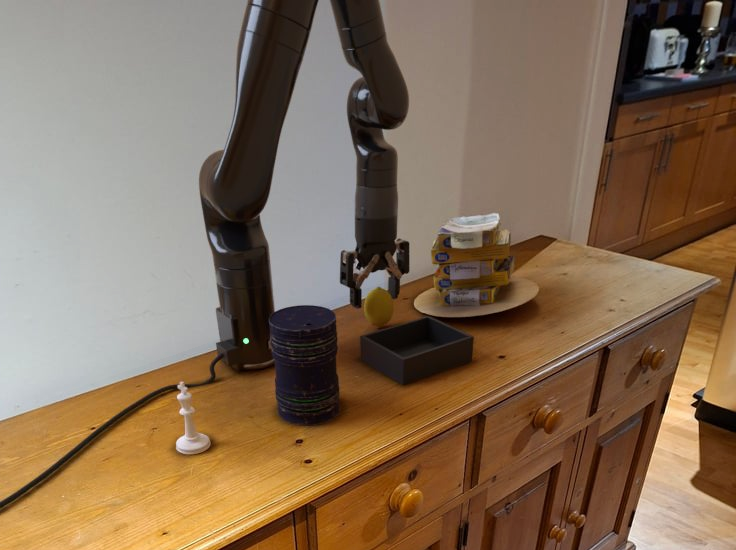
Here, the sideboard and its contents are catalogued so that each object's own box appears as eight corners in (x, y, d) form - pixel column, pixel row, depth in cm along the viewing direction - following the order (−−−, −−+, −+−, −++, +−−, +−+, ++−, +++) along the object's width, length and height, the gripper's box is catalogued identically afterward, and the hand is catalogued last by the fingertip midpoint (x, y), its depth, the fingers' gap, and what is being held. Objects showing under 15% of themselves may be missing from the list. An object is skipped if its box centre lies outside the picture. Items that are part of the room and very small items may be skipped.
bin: (402, 385, 116) (403, 359, 113) (360, 360, 124) (359, 335, 121) (472, 361, 122) (474, 336, 120) (427, 339, 130) (428, 315, 128)
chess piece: (195, 433, 105) (184, 371, 99) (217, 443, 102) (207, 380, 96) (169, 447, 102) (155, 384, 96) (191, 458, 99) (179, 394, 93)
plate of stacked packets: (393, 315, 140) (394, 228, 130) (441, 277, 158) (445, 198, 148) (513, 336, 131) (524, 243, 121) (550, 293, 148) (562, 209, 138)
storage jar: (269, 402, 112) (260, 310, 103) (328, 390, 115) (323, 300, 106) (287, 431, 104) (278, 335, 95) (349, 418, 107) (346, 324, 98)
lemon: (390, 334, 133) (391, 292, 128) (362, 332, 134) (361, 291, 129) (395, 323, 137) (395, 282, 132) (367, 321, 138) (366, 281, 133)
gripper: (395, 201, 129) (392, 289, 138) (330, 213, 122) (332, 304, 132) (421, 209, 124) (416, 300, 133) (355, 222, 117) (355, 316, 127)
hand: (374, 302), depth 132 cm, fingers open, 8 cm apart
